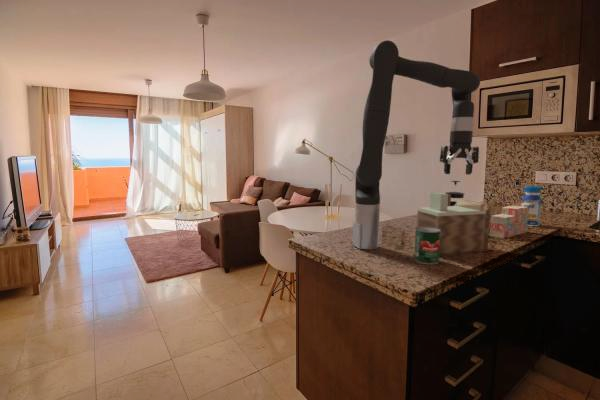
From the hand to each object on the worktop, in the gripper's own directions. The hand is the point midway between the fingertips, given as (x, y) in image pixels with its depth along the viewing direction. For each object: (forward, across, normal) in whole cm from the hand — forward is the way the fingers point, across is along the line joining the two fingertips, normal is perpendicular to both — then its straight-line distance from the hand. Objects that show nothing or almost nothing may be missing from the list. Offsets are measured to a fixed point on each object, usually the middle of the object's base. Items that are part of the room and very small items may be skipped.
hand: (457, 174), depth 123 cm
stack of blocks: (+28, +39, +17) cm, 51 cm away
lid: (+15, -4, -3) cm, 16 cm away
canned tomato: (+29, -18, -14) cm, 37 cm away
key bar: (+13, +5, -2) cm, 14 cm away
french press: (+28, +25, +36) cm, 52 cm away
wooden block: (+28, +14, +23) cm, 39 cm away
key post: (+28, +9, -2) cm, 30 cm away
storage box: (+28, -3, -3) cm, 29 cm away
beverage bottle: (+27, +64, +32) cm, 77 cm away
